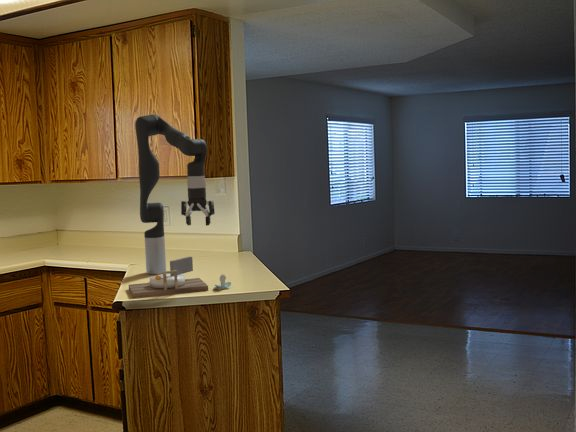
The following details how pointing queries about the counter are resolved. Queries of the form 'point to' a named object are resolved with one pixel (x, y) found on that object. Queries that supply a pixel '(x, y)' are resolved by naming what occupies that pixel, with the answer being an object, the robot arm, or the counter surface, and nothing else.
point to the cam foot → (179, 265)
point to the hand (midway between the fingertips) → (198, 225)
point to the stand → (189, 286)
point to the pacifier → (222, 283)
